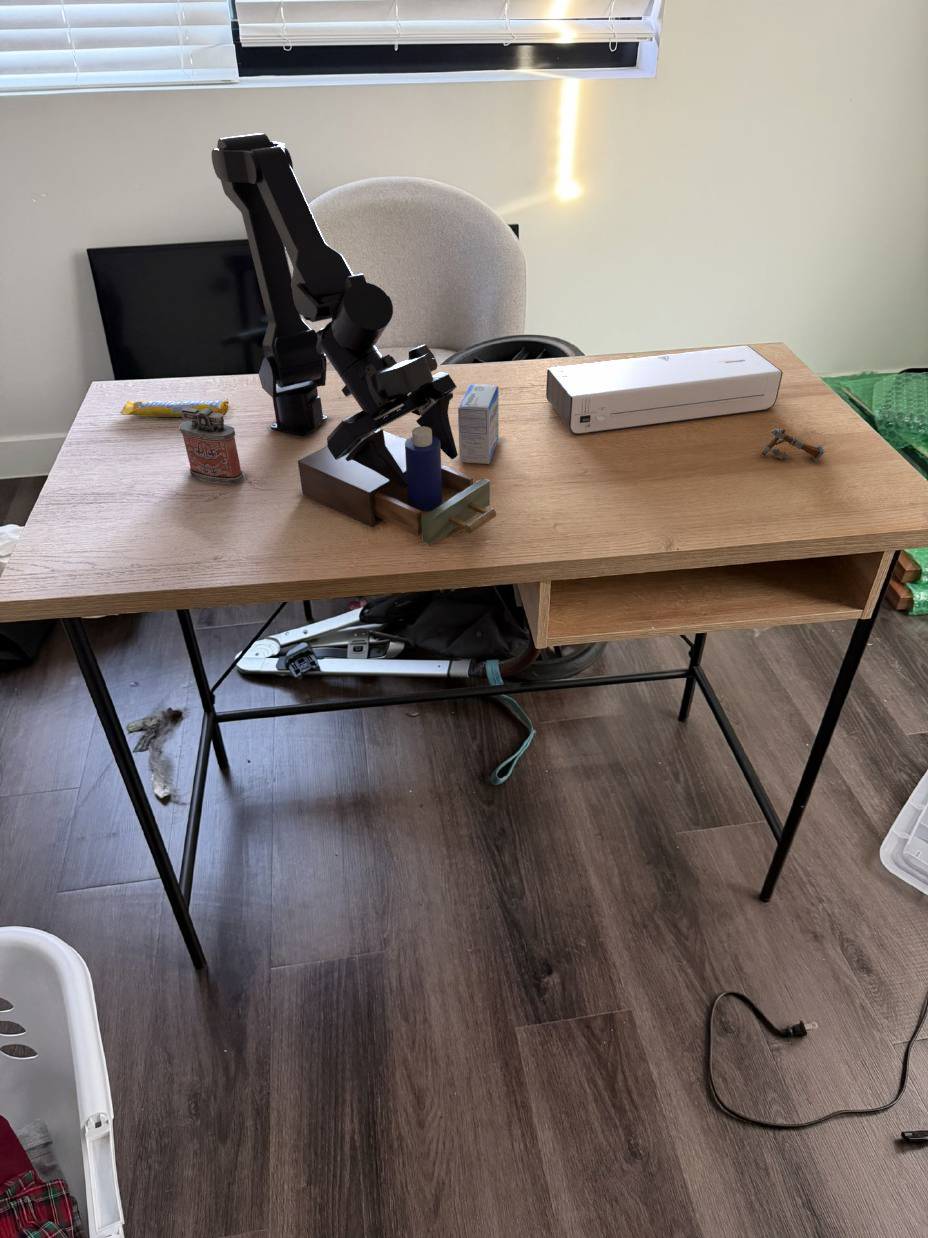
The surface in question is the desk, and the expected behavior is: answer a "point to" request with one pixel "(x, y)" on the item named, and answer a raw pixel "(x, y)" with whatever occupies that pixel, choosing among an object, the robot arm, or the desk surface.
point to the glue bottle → (423, 469)
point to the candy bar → (171, 408)
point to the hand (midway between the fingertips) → (431, 471)
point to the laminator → (662, 389)
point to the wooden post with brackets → (780, 434)
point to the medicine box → (478, 423)
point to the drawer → (456, 507)
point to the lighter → (210, 447)
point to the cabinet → (347, 481)
